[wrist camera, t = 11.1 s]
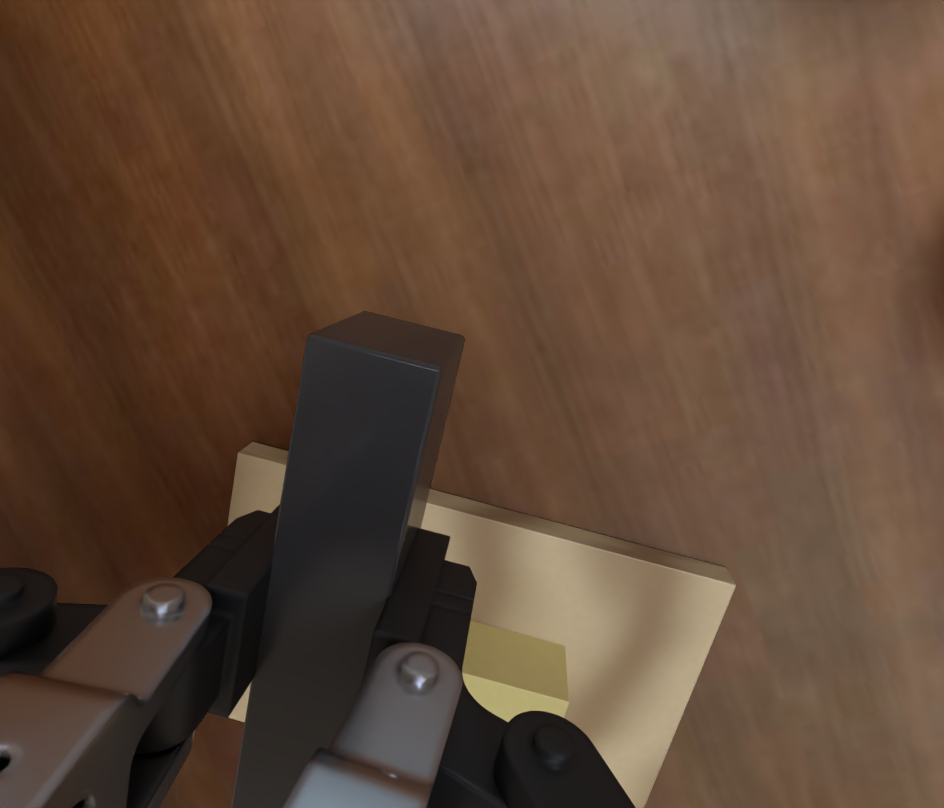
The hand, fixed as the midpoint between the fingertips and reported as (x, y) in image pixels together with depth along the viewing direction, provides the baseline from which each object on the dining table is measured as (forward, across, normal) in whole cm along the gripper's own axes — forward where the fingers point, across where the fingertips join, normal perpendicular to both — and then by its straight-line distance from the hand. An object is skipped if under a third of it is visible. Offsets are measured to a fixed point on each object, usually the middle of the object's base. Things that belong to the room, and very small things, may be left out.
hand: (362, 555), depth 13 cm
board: (+14, -3, +12) cm, 19 cm away
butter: (+13, -5, +12) cm, 18 cm away
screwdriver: (0, 0, +5) cm, 5 cm away
